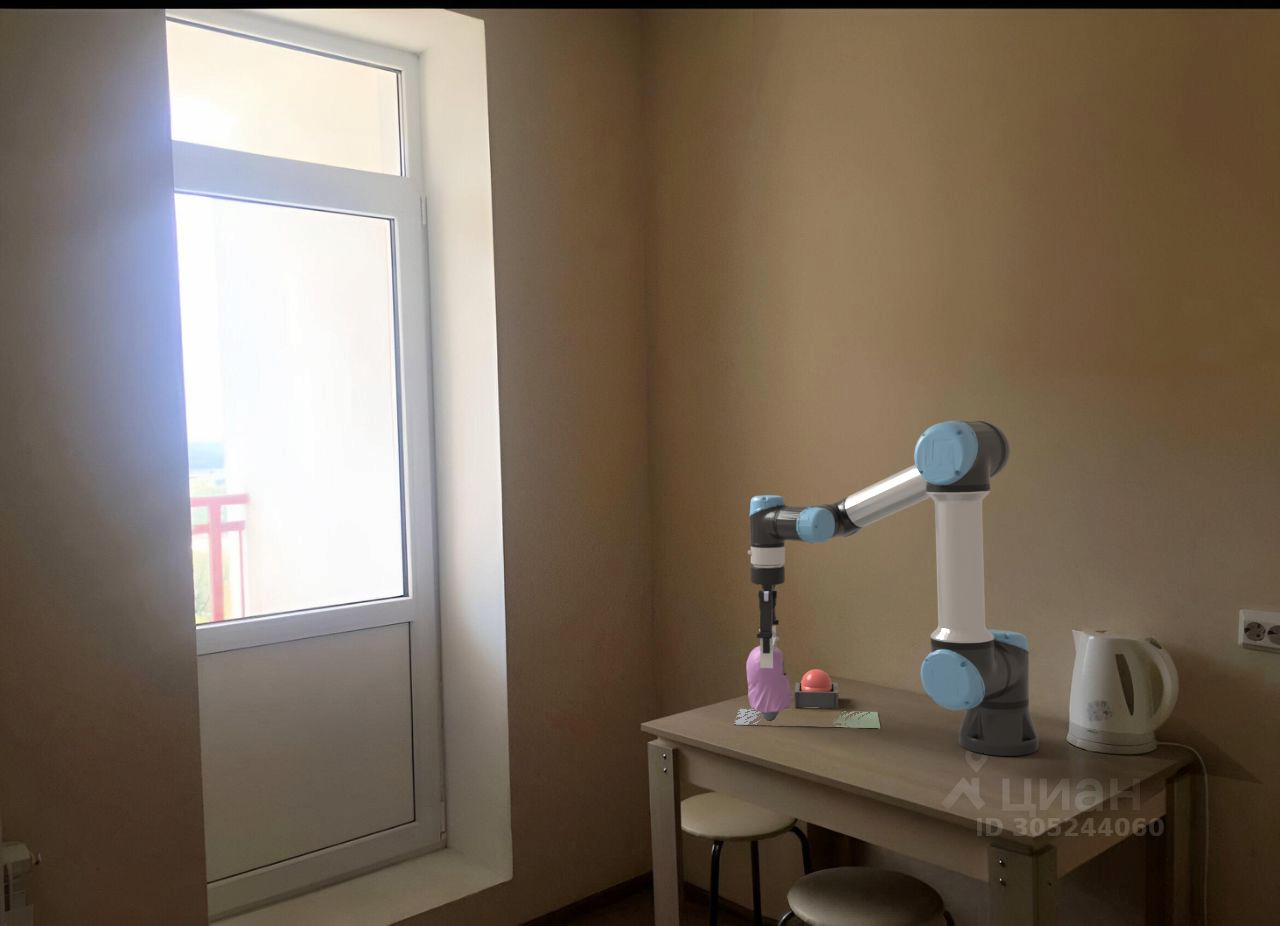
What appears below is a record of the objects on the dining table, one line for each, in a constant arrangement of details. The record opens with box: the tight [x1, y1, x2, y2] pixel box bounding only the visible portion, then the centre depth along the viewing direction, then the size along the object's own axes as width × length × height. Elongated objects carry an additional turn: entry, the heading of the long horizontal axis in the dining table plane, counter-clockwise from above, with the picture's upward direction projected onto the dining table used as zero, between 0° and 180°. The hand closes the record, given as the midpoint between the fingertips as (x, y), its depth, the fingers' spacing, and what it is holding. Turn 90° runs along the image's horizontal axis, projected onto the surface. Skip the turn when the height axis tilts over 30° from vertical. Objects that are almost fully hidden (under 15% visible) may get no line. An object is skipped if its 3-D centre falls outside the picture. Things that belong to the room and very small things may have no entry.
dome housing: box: [794, 681, 839, 709], centre depth 246 cm, size 10×10×4 cm
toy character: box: [745, 628, 794, 721], centre depth 234 cm, size 12×10×20 cm
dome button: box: [800, 668, 833, 692], centre depth 246 cm, size 7×7×7 cm
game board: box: [733, 708, 881, 730], centre depth 233 cm, size 13×31×1 cm, turn 80°
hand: (768, 660), depth 234 cm, fingers open, 13 cm apart
